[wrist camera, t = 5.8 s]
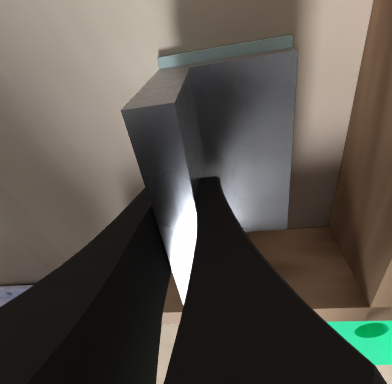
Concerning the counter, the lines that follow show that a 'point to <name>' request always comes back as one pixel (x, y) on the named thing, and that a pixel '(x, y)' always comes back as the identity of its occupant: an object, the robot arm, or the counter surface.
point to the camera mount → (368, 338)
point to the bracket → (215, 144)
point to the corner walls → (344, 209)
